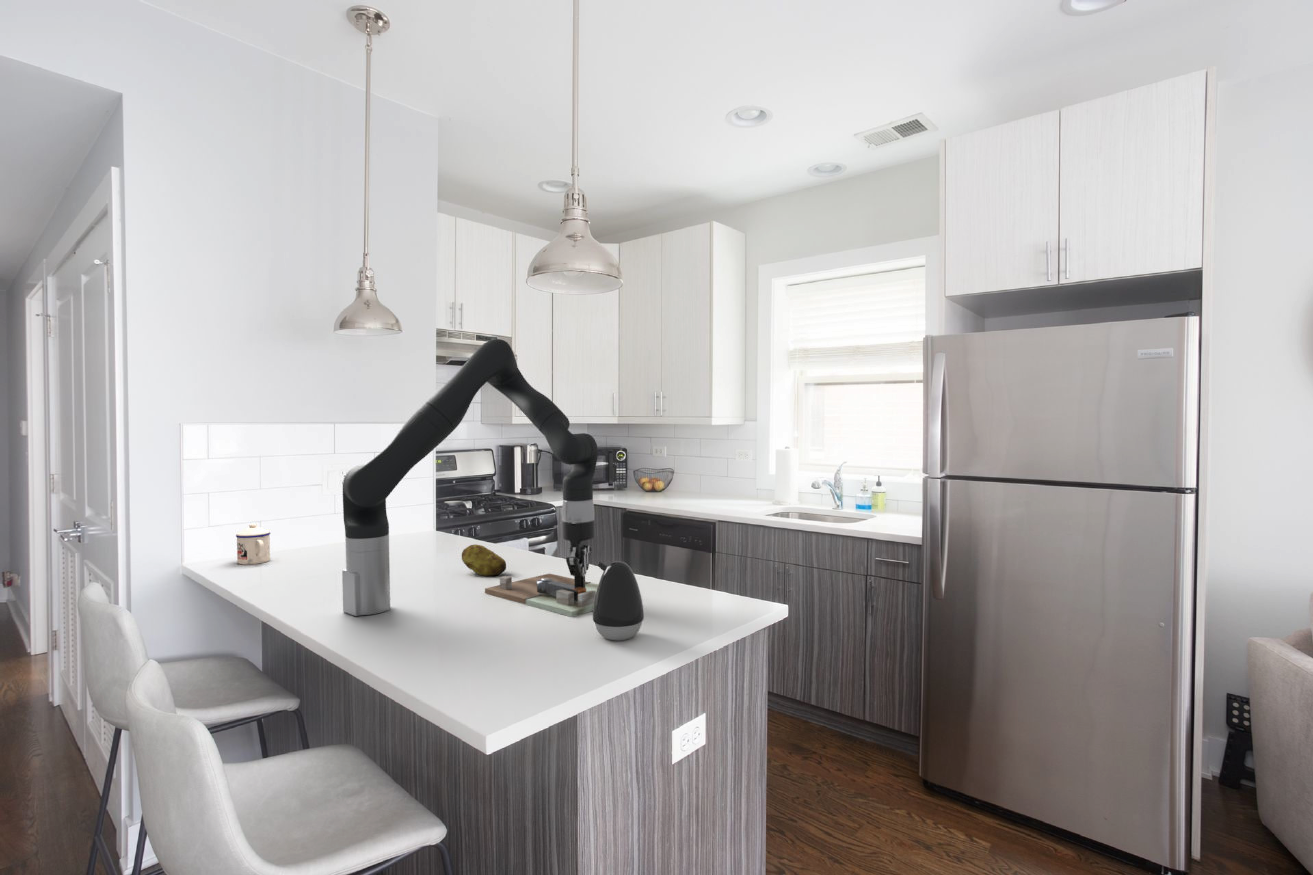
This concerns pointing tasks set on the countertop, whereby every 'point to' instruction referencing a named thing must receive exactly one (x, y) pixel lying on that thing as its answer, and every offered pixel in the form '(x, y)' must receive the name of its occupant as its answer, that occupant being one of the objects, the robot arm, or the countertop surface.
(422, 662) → the countertop surface
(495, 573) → the potato
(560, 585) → the arm
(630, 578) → the pump dispenser
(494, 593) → the board
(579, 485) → the robot arm
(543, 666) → the countertop surface
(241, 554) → the teacup with lid
